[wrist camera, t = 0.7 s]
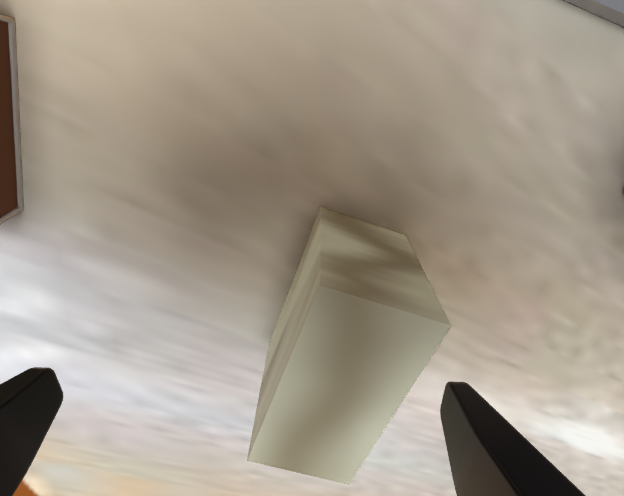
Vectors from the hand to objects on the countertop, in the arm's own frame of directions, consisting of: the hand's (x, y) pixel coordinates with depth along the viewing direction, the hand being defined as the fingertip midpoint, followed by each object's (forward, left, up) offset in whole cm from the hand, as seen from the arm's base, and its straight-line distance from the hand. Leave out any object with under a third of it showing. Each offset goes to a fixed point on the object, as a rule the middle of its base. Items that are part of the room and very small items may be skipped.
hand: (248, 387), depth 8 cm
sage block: (-4, +5, -13) cm, 14 cm away
